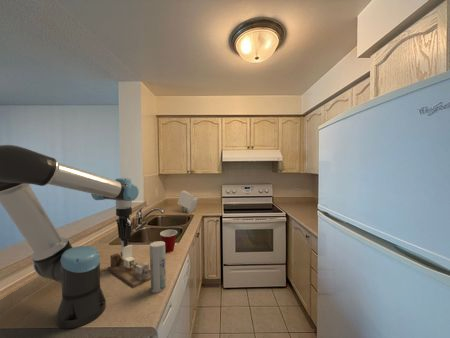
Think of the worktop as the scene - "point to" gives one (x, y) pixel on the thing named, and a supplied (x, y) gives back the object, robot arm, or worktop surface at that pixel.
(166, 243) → the plastic cup
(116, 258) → the board
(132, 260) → the white l-shaped block
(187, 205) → the tissue box
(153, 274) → the spray can
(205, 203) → the worktop surface
